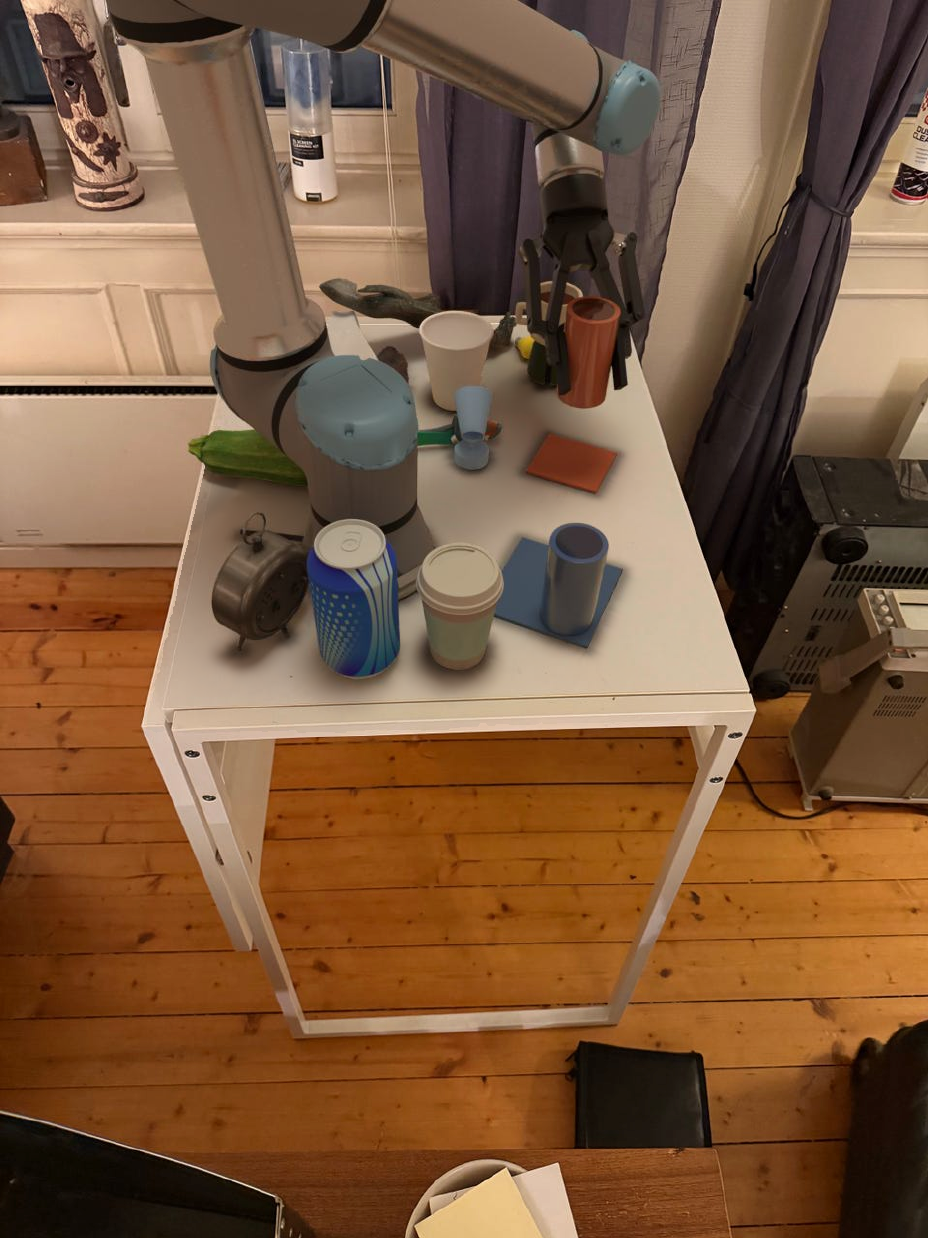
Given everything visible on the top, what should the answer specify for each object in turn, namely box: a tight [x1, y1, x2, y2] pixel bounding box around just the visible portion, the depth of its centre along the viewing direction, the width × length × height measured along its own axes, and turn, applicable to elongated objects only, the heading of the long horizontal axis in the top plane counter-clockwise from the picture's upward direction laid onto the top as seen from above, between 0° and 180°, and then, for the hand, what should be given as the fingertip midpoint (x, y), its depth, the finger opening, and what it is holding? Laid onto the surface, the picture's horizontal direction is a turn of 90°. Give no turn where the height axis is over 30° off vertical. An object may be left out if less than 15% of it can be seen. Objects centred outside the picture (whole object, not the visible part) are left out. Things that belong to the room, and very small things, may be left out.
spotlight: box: [453, 385, 494, 471], centre depth 111 cm, size 5×10×7 cm
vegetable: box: [187, 428, 308, 488], centre depth 108 cm, size 7×7×20 cm
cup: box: [418, 310, 495, 412], centre depth 119 cm, size 10×10×11 cm
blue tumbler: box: [539, 522, 610, 636], centre depth 91 cm, size 6×6×11 cm
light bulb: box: [514, 335, 535, 360], centre depth 131 cm, size 3×6×4 cm
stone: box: [376, 345, 410, 384], centre depth 126 cm, size 11×2×5 cm
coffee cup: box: [416, 542, 504, 671], centre depth 88 cm, size 8×8×12 cm
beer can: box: [307, 519, 401, 680], centre depth 86 cm, size 8×8×16 cm
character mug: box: [514, 280, 584, 386], centre depth 123 cm, size 11×7×13 cm, turn 83°
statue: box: [318, 277, 518, 347], centre depth 127 cm, size 10×6×30 cm
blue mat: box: [494, 536, 624, 649], centre depth 98 cm, size 13×13×1 cm
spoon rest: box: [327, 310, 379, 361], centre depth 123 cm, size 24×12×7 cm, turn 6°
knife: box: [418, 413, 504, 447], centre depth 114 cm, size 20×2×5 cm, turn 105°
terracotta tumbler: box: [556, 295, 621, 410], centre depth 100 cm, size 6×6×11 cm
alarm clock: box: [210, 510, 310, 653], centre depth 87 cm, size 11×5×16 cm, turn 148°
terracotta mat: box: [525, 433, 618, 495], centre depth 114 cm, size 10×9×1 cm
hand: (593, 389), depth 100 cm, fingers closed on terracotta tumbler, 6 cm apart
